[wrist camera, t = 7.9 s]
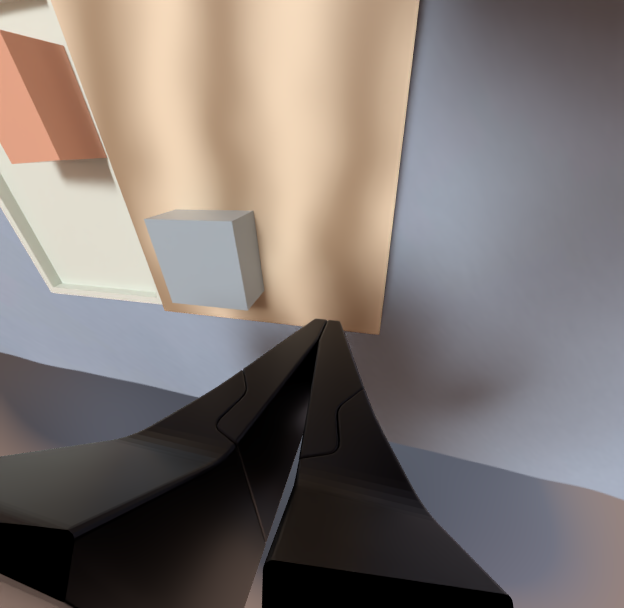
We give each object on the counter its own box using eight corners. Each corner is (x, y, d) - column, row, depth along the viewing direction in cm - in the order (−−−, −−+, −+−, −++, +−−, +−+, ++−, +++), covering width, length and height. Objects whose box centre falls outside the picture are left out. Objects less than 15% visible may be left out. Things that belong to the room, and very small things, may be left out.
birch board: (429, -104, 9) (438, -158, 8) (379, 317, 19) (379, 334, 17) (77, -26, 13) (31, -51, 11) (181, 298, 22) (165, 310, 20)
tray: (69, -24, 13) (43, -38, 12) (176, 297, 22) (166, 304, 21) (-89, 12, 16) (-122, 2, 15) (65, 286, 25) (51, 292, 24)
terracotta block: (63, 45, 13) (-2, 29, 12) (107, 157, 16) (60, 160, 14) (13, 63, 15) (-51, 51, 13) (59, 161, 18) (11, 164, 16)
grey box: (253, 210, 15) (231, 221, 13) (264, 290, 17) (247, 310, 15) (175, 209, 16) (143, 218, 14) (196, 284, 18) (172, 302, 16)
